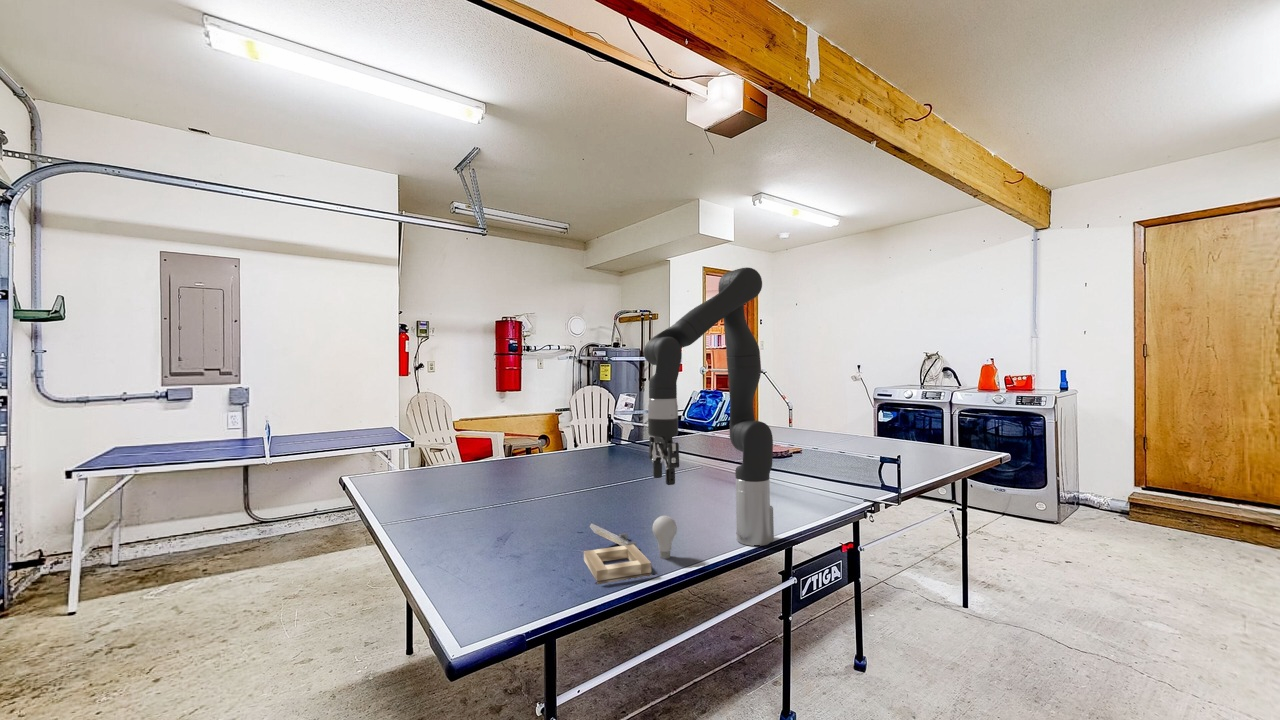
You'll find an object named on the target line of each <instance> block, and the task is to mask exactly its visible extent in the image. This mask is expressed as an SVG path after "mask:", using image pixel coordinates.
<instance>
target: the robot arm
mask: <svg viewBox="0 0 1280 720" xmlns="http://www.w3.org/2000/svg"><path fill="white" fill-rule="evenodd" d="M717 289H718V293H717V294H715V295H714V296H712V297H710V298H709V299H707V300H706V301H704V302H702V303H700V304H698V305H696V306H695V307H694V308H693V309H690V310H689V311H688V312H687V313H686V314H684V315H683V316H682V317H681V318H679V319H678V320H677V321H676V322H675V323H674V324H672V325H671V326H670V327H668V328H665V329H664V330H662V331H661V332H659V333H657V334H655V335H654V336H653V337H651V338H650V339H649V341H647V342H646V344H645V346H644V348H643V356H644V359H645V360H646V361H647V363H649V364H651V365H653V366H655V374H653V375H652V376H651V377H650V378H649V379H648V407H647V412H648V413H647V415H648V416H647V417H648V418H647V424H648V426H647V427H648V428H647V429H648V430H647V431H648V436H649V446H648V447H649V448H648V449H649V450H648V454H649V455H648V457H649V460H651V462H652V473H653V474H652V476H653V478H654V479H660V478H662V477H663V465H664V469H665V484H666V485H667V486H672V485H673V486H675V484H676V469H679V467H680V450H679V449H680V447H679V442H673V437H676V436H678V434H679V406H678V400H677V399H678V397H677V396H678V392H677V391H678V389H677V381H678V379H679V375H680V374H679V373H680V369H681V363H682V354H683V353H682V349H683V348H685V347H688V346H690V345H693V344H695V342H696V341H697V340H698V339H700V338H701V337H702V336H704V335H705V334H706V332H708V331H709V330H710V329H712V327H714V326H715V325H716V324H717V323H719V322H720V321H721V320H722V321H723V327H724V328H723V329H724V339H725V349H726V350H725V352H726V353H725V354H726V368H727V376H728V390H729V391H728V392H729V393H728V394H729V439H730V442H731V444H732V446H733V448H735V449H736V450H738V451H740V452H742V463H741V464H740V465H738V466H736V468H735V515H736V516H735V518H736V519H735V520H736V521H735V523H736V526H735V527H736V533H735V534H736V541H737V542H738V543H740V544H742V545H746V546H752V547H755V546H754V545H760V546H761V547H762V546H768V545H769V544H771V543H773V542H775V533H774V531H775V528H774V527H775V526H774V522H775V521H774V507H773V506H772V505H771V489H770V488H771V486H770V474H771V471H772V468H773V458H774V457H773V456H774V455H773V454H774V453H773V451H774V447H773V446H774V439H773V433H772V430H771V428H770V426H769V425H768V424H767V423H765V422H763V421H760V420H756V417H755V410H754V409H755V408H754V401H755V400H754V399H755V398H754V397H755V396H756V395H755V394H756V391H757V388H758V387H759V382H760V378H761V374H762V364H761V352H760V347H759V344H758V342H757V340H756V338H755V337H754V336H755V335H754V334H753V333H752V331H751V329H750V328H749V325H748V323H747V319H746V313H745V312H746V311H745V304H747V303H749V302H750V301H752V300H754V299H755V298H757V297H758V296H759V295H760V293H761V291H762V289H763V280H762V276H761V275H760V273H759V272H758V270H756V269H755V268H752V267H741V268H737V269H734V270H731V271H727V272H725V273H723V274H722V275H721V277H720V278H719V281H718V288H717ZM760 546H759V547H760Z"/></svg>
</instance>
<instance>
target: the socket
mask: <svg viewBox="0 0 1280 720" xmlns="http://www.w3.org/2000/svg"><path fill="white" fill-rule="evenodd" d="M623 559H628V561H625V562H616V563H612V564H604V562H608V561H614V560H615V561H616V560H623ZM583 561H584V563H585V564H586V566H587V567H588V570H589V571H590V573H591V574H592V576H593V577H594V579H595V580H596V582H595V584H596V585H601V584H607V583H608V584H609V583H614V582H620V581H621V580H622V581H627V580H626V579H628V580H632V579H631V578H634V579H638V578H637V577H640V578H643V577H642V576H647V577H651V576H652V561H650V560H649V558H647V557H646V555H644V554H643V553H642V551H641V550H639V548H638V547H637V545H636V546H635V545H634V544H632V545H625V546H621V545H619V546H612V547H604V548H597V549H590V550H583ZM650 575H651V576H650ZM622 581H621V582H622Z"/></svg>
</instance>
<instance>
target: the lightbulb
mask: <svg viewBox="0 0 1280 720" xmlns="http://www.w3.org/2000/svg"><path fill="white" fill-rule="evenodd" d="M677 531H678V525H677V523H676V521H675V519H673V518H672V517H670V516H669V515H660V516H658V517H657V518H656V519H655V520H654V521H653V524H652V533H653V536H654V537H655V539H656V541H657V545H658V550H659V558H660V559H662V560H668V559H670V558H671V550H672V544H673V541H674V539H675V536H676V534H677Z"/></svg>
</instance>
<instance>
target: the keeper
mask: <svg viewBox="0 0 1280 720" xmlns="http://www.w3.org/2000/svg"><path fill="white" fill-rule="evenodd" d="M589 528H590V529H591V530H592V532H593V534H596V535H598V536H600V537H602V538H604V539H607V540H609V541H610V542H613V543H615V544H618V545H619V546H625V545H628V543H629V542H630V541H629V540H627V539H624V538H622V537H620V536H619V535H617V534H615V533H613V532H612V531H611V532H610V531H609V530H607V529H605V528H602V527H601V526H598V525H596V524H594V523H593V522H592V523H590V525H589Z"/></svg>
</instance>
